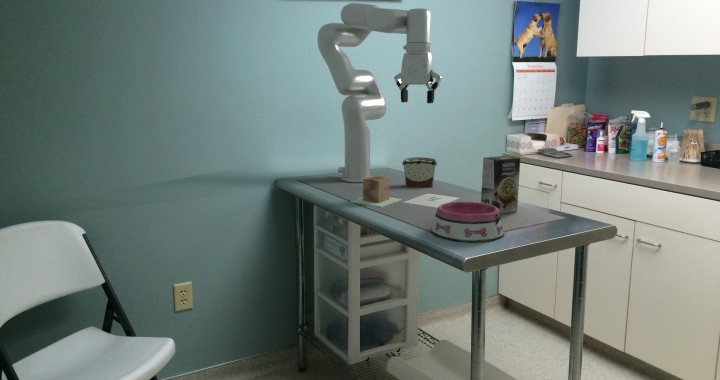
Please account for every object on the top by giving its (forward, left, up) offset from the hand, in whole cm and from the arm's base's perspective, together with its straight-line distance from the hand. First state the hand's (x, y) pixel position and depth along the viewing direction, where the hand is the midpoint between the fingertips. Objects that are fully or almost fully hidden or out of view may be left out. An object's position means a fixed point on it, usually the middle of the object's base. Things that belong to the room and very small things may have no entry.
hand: (417, 102), depth 192 cm
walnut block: (-4, -18, -30) cm, 35 cm away
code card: (+10, -7, -30) cm, 33 cm away
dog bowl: (+35, -33, -31) cm, 57 cm away
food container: (-5, +11, -31) cm, 33 cm away
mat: (-4, -18, -30) cm, 35 cm away
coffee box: (+33, -8, -31) cm, 46 cm away
